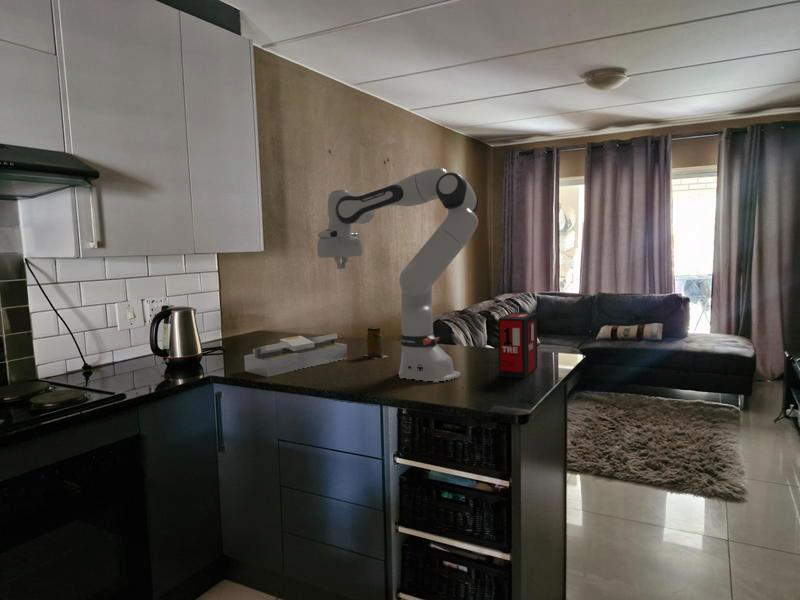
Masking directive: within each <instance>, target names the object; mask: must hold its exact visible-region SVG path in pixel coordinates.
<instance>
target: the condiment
mask: <svg viewBox="0 0 800 600" xmlns="http://www.w3.org/2000/svg"><path fill="white" fill-rule="evenodd" d="M382 339H383V337H382V334H381V327H377V326H373V327H372V326H371V327H370V326H369V327H368V328H367V335H366V351H367V352H366V354H367V355H368V357H367V358H368V359H372V358H371V357H381V356H382V355H383V357H382V358H381V359H384V358H389V356H388V355H385V354H383V350H382V349H383V345H382V344H383V342H382ZM367 355H365V356H367ZM369 357H370V358H369ZM373 359H375V360H378V359H379V358H373Z"/></svg>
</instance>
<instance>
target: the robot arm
mask: <svg viewBox="0 0 800 600" xmlns="http://www.w3.org/2000/svg"><path fill="white" fill-rule="evenodd" d="M437 199H439V201H440V202H441V204H442V205H443V207H444V208H445V209H447V215H446V218H445V219H444V220H443V221H442V223H441V224H440V225H439V226H438V227H437V229H436V230H435V231H434V232H433V233H432V234H431V236H430V237H429V239H428V240H427V241H426V242H425V243H424V245H423V246H422V247H421V248H420V249H419V250H418V252H417V253H416V254H415V256H414V257H412V259H411V260H410V261H409V263H408V264H407V265H406V266H405V268H403V270H402V271H401V273H400V276H399V281H398V283H399V286H400V290H401V305H400V306H401V309H400V310H401V311H400V313H401V317H400V318H401V334H400V345H401V354H400V355H401V357H400V365H399V369H398V372H397V373H398V378H399V377H400V378H399V379H403V378H406V380H411V379H415V380H414V381H419V380H423V381H422V382H427V381H433V382H432V383H440V382H439V381H444V382H447V381H446V380H448V381H452V380H454V378H455V379H457V378H459V377H460V376H461V372H459V371H456V370H454V364H453V360H452V357H451V356H450V355H448V354H447V353H446V352H445V351H444V350H443V349H442V348H441V347H440V346H439V345H438V341H440V336H438V337H436V335H435V334H434V326H433V325H434V321H433V319H434V318H433V286H434V284H435V283H436V282H437V281H438V279H439V278H440V276H442V274H443V273H444V272H445V271H446V269H447V268H448V266H449V265H450V264H451V263H452V261H453V260H454V259H456V257H457V256H458V255H459V253H460V252H461V251H462V250H463V248H464V247H465V246H466V245H467V243H468V242H469V241H470V239H471V237H473V235H474V234H475V232H476V230H477V227H478V226H479V219H478V216H477V215H476V212H477V211H478V209H479V198H478V195H477V193H475V191H474V189H473V187H472V186H471V184H470V183H469V182H468V181H467V180H466V179H465V178H464V177H463V176H462V175H461V174H458V173H456V172H448V170H447V169H445V168H444V167H434V168H433V167H432V168H429V169H424V170H422V171H419V172H416V173H413V174H411V175H409V176H407V177H404V178H403V179H401V180H399V181H396V182H394V183H392V184H390V185H388V186H385V187H383V188H380V189H377V190H374V191H371V192H368V193H365V194H363V195H358V196H357V195H354V194H353V193H351V192H349V191H348V190H347V189H341V190H339V189H338V190H334V191H332V192H331V193H330V194H328V199H327V216H328V224H327V227H328V228H327V229H324V230H321V231H319V232H318V233H317V237H318V240H317V248H316V249H317V256H318V258H320V259H323V258H324V259H325V258H327V259H329V258H333V259H334V262H335V264H336V269H337V270H343V269H346V267H347V266H346V264H347V262H348V261H349V260H348V259H349V258H348V257H361V256H362V255H363V247H362V246H363V245H362V241H361V236H360V234H358V233H357V232H353V233H352V225H353V224H357V225H358V224H359V225H360V224H366V223H369V222H371V221H372V220H373V218H374V215H375V211H376V210H379V209H381V208H384V207H388V206H389V207H391V206H401V207H413V206H419V205H423V204H425V203H428V202H431V201H434V200H437ZM340 260H342V261H340ZM451 379H452V380H451Z"/></svg>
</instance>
